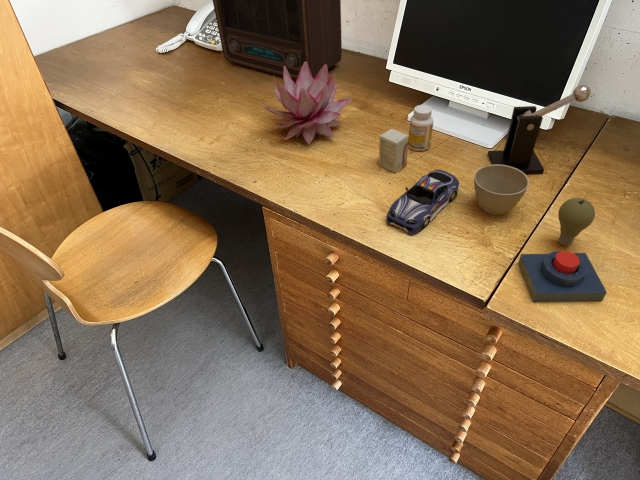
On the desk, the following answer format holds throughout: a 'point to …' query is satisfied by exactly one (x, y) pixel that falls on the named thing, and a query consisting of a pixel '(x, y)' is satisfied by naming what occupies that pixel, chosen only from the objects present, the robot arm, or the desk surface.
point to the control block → (560, 279)
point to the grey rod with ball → (562, 101)
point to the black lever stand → (520, 143)
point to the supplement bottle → (420, 128)
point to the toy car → (431, 192)
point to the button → (566, 262)
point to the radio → (280, 34)
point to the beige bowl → (499, 188)
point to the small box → (393, 150)
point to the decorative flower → (308, 103)
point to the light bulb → (574, 218)
